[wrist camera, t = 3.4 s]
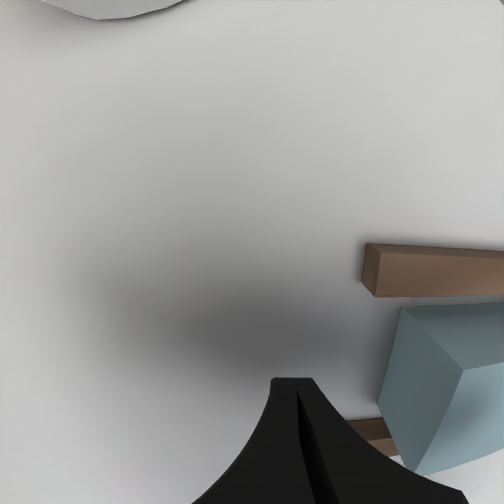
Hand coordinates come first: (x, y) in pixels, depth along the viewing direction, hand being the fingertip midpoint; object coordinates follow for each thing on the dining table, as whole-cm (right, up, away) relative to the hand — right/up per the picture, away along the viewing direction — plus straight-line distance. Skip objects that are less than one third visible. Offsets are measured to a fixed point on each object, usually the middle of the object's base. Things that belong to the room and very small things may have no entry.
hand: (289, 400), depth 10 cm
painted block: (+9, 0, +2) cm, 9 cm away
